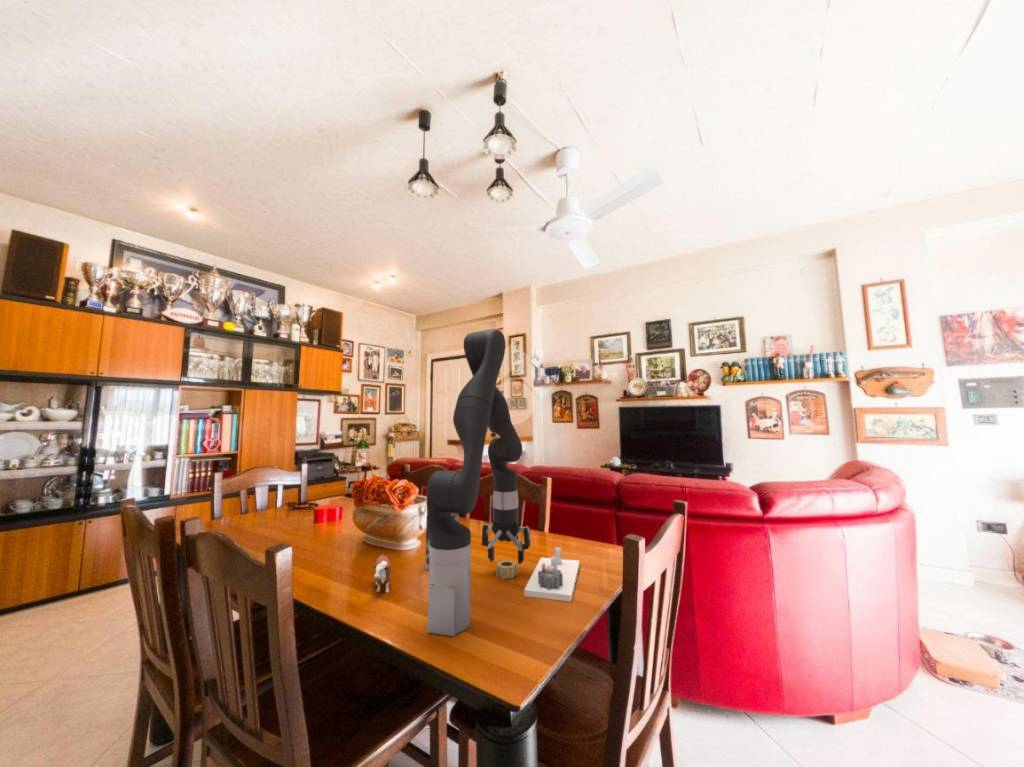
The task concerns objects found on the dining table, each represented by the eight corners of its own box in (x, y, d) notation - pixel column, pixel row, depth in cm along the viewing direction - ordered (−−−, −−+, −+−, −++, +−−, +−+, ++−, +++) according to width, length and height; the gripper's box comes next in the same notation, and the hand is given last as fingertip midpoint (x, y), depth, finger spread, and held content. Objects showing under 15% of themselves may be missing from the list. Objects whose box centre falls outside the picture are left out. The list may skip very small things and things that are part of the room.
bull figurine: (371, 601, 95) (372, 567, 95) (375, 579, 108) (376, 549, 108) (389, 599, 96) (390, 565, 97) (391, 577, 109) (392, 548, 110)
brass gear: (514, 580, 107) (514, 569, 107) (492, 578, 108) (492, 567, 108) (519, 571, 113) (519, 561, 113) (499, 569, 114) (499, 559, 115)
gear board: (571, 601, 94) (570, 574, 94) (524, 596, 97) (523, 569, 97) (579, 565, 117) (579, 544, 118) (541, 562, 120) (540, 541, 121)
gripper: (478, 507, 111) (478, 564, 109) (526, 509, 107) (527, 569, 106) (486, 501, 118) (486, 555, 117) (531, 503, 115) (532, 559, 113)
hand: (506, 561), depth 111 cm, fingers open, 8 cm apart
